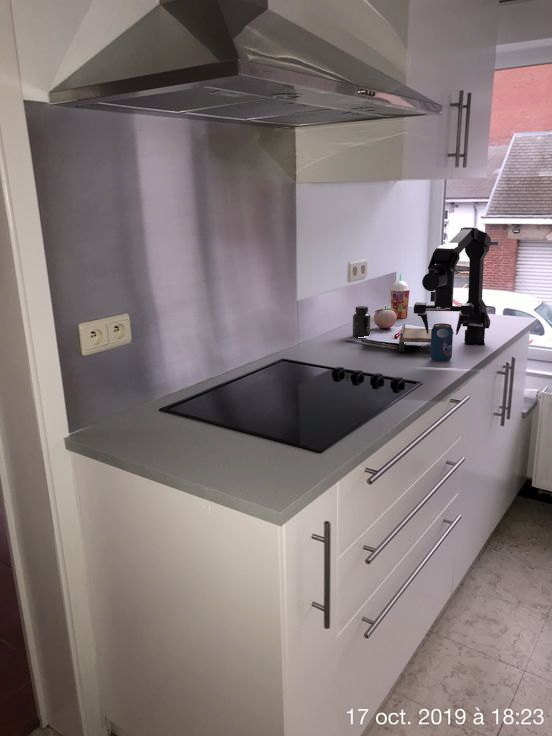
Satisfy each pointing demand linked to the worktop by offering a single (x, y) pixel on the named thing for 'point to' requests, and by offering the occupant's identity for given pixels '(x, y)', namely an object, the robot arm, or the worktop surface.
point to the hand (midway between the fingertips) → (442, 334)
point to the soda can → (441, 343)
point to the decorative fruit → (385, 317)
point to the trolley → (413, 336)
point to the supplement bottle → (361, 322)
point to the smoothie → (400, 298)
